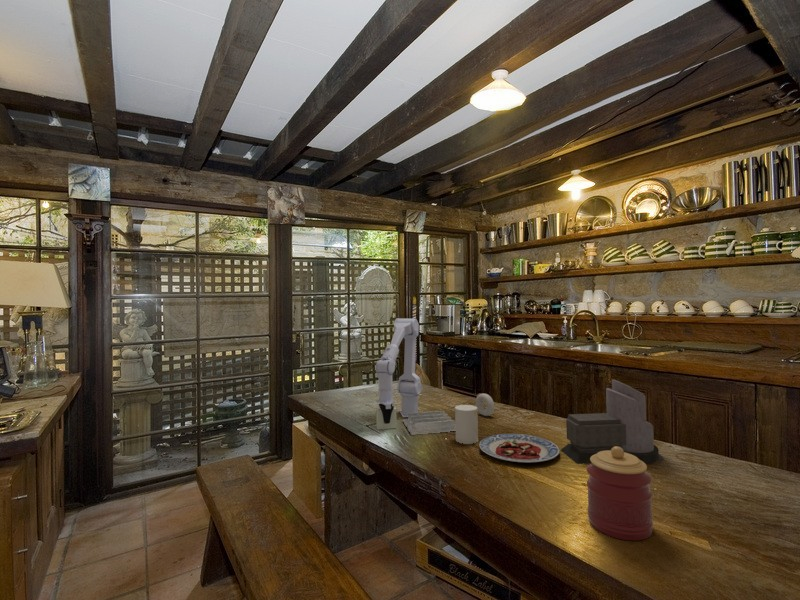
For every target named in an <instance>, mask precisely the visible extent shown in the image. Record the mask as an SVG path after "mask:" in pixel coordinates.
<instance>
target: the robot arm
mask: <svg viewBox="0 0 800 600" xmlns="http://www.w3.org/2000/svg"><path fill="white" fill-rule="evenodd" d="M418 321H419V320H417V318H400V317H399V318H398V317H397V318H395V320H394V323H393V330H394V333H393V335H392V339H391V342H390V344H387V346H386V347H385V349H384V351H383V354H382V355H381V358H380V359H378V360H377V361H376V363H375V367H374V368H375V373H376V378H378V399H376V400H375V403H378V406H379V409H381V411H382V414H383V420H384V423H385V424H388V423H390V419H391V414H392V411H393V409H394V408H395V406H394V405H393V404H394V392H393V391H394V389H393V388H394V387H393V385H394V384H393V374H394V372H395V370H396V365H397V364H396V360H397V358H398V355H399V352H400V349H399V347H400V344H401V342H402V341H403V339H404V358H403V359H404V362H403V364H404V365H403V374H402V375H400V376H399V377H398V383H397V392H398V394H400V396H401V398H400V399H401V400H400V401H401V410H399V413H400V415H401V416H402V418H408V413H418V412H419V401H418V400H419V399H418V397H419V395H420V394H421V392H422V383H421V381H422V380H421V378H420V376H419V375H417V374H416V351H417V350H416V344H417V337H419V332H420V331H419V330H420V328H419V327H420V325H419V322H418Z"/></svg>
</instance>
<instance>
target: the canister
mask: <svg viewBox="0 0 800 600" xmlns="http://www.w3.org/2000/svg"><path fill="white" fill-rule="evenodd" d="M590 461H591V463H588V465H587V466H586V472H587V474H588V479H587V480H586V486H587V508H586V509H587V516H588V521H589V523H590V524H591V526H593V528H595V530H597V531H599V532H601V533H602V534H604V535H606V536H608V537H612V538H614V539H618V540H619V539H620V540H623V541H634V542H635V541H641V540H646V539H648V538H650V537H651V536H652V533H653V529H654V520H653V507H652V505H653V504H652V503H653V502H652V501H653V500H652V498H653V492H652V489H650V484H651V483H652V481H653V478H652V475H651V474H650V473H649V472H648V471H647V469H648V464H645V463H644V462H643V461H641V460H639V459H638V458H637V457H636V456H634V455H632V454H629V453H626V452H624V451H623V449H622V448H621V447H618V446H615V447H613V448H612V449H611V450H606V451H600V452H598V453H597V454H594V455H592V456H591V457H590Z"/></svg>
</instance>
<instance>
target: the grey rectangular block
mask: <svg viewBox="0 0 800 600" xmlns="http://www.w3.org/2000/svg"><path fill="white" fill-rule="evenodd" d="M375 411H376V412H375V413H376V415H375V417H376V418H375V419H376V429H377V430H379V429H382V430H391V429H390V428H395V429H397V428H398V426H397V422H398V421H397V407H395V406H394V409H393V411H392V414H391V419H390V423H388V424H385V423H384V420H383V414H382V411H381V409H380V408H376V409H375ZM379 431H380V430H379Z"/></svg>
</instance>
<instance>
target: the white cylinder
mask: <svg viewBox="0 0 800 600" xmlns="http://www.w3.org/2000/svg"><path fill="white" fill-rule="evenodd" d="M454 418H455V419H454V420H455V429H456V432H455V442H457V443H458V442H459V444H462V443H463V444H462V445H472V444H473V443H474V444H476V442H477V443H478V442H479V423H478V421H479V420H478V419H479V418H478V410H477V407H476V405H471V404H460V405H459V404H458V405H456V406H455V407H454Z"/></svg>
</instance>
